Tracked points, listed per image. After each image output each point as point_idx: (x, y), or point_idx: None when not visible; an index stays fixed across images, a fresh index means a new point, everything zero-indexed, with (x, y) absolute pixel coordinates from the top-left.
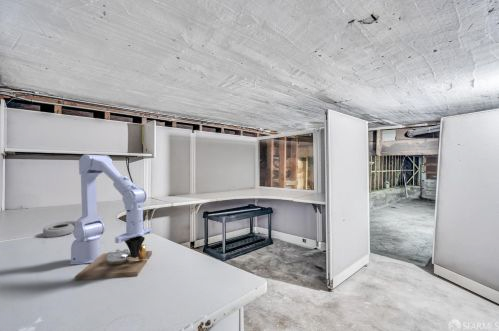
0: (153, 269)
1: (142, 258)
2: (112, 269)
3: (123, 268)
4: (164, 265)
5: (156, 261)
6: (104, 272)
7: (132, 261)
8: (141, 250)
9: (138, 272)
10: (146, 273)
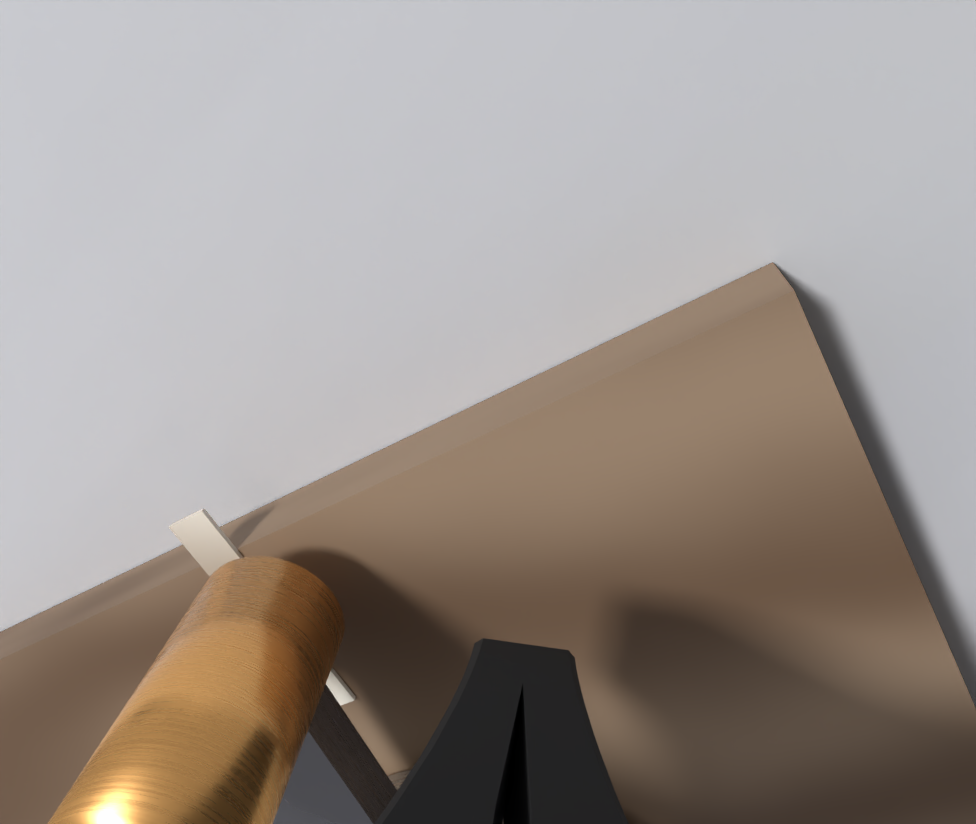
0: (385, 165)
1: (305, 587)
2: (794, 777)
3: (710, 651)
4: (107, 71)
5: (61, 396)
6: (937, 805)
7: (386, 713)
8: (254, 755)
9: (697, 312)
10: (610, 162)
